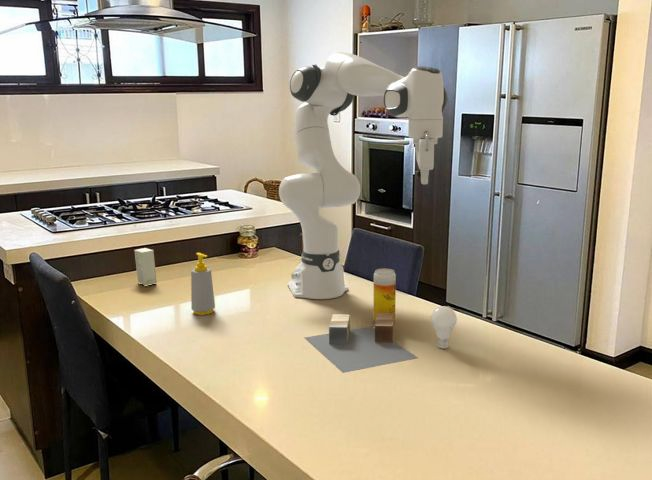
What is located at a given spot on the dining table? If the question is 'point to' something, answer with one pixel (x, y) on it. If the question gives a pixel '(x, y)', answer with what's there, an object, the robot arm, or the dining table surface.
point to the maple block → (339, 329)
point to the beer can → (384, 292)
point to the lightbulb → (443, 324)
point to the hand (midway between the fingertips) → (424, 183)
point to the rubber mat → (360, 350)
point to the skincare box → (145, 266)
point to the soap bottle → (202, 288)
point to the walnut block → (384, 328)
